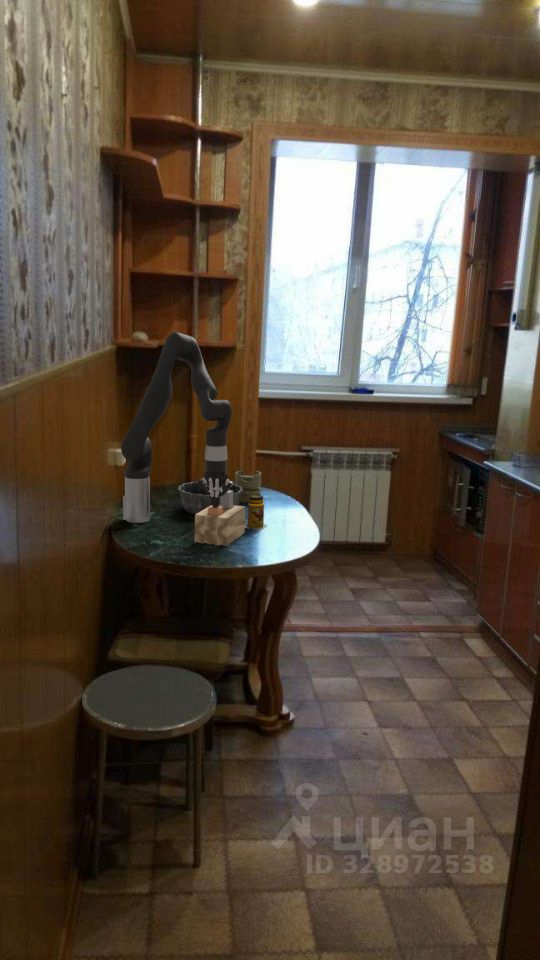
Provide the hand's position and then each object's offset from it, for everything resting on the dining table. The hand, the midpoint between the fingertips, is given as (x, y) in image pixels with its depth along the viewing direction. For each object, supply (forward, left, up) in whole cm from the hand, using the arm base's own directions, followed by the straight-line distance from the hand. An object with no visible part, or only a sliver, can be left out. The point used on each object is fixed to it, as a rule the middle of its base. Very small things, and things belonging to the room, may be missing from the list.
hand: (215, 507), depth 248 cm
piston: (-11, +65, -13) cm, 67 cm away
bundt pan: (-18, +39, -13) cm, 45 cm away
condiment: (+6, +24, -13) cm, 28 cm away
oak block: (0, +5, -12) cm, 13 cm away
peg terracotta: (0, 0, -8) cm, 8 cm away
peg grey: (0, +10, -4) cm, 11 cm away
